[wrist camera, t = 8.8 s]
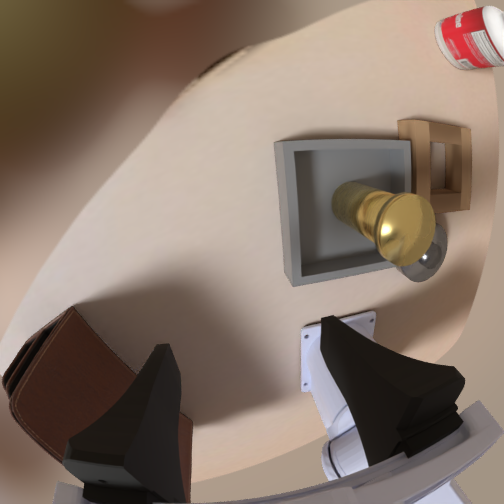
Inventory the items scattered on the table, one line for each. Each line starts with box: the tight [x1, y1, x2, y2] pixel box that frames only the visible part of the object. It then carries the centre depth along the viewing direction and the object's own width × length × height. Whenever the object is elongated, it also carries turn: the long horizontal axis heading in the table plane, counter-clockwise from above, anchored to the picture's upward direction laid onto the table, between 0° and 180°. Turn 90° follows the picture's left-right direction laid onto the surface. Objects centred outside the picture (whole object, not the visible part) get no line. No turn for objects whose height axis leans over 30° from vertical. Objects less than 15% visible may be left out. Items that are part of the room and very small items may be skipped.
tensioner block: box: [397, 120, 472, 214], centre depth 20 cm, size 8×8×2 cm
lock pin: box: [331, 182, 436, 266], centre depth 17 cm, size 4×4×8 cm
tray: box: [274, 139, 411, 287], centre depth 20 cm, size 10×10×3 cm
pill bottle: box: [435, 6, 504, 70], centre depth 12 cm, size 6×6×11 cm
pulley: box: [396, 223, 447, 282], centre depth 23 cm, size 6×6×3 cm
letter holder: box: [2, 307, 193, 503], centre depth 19 cm, size 10×20×14 cm, turn 29°
